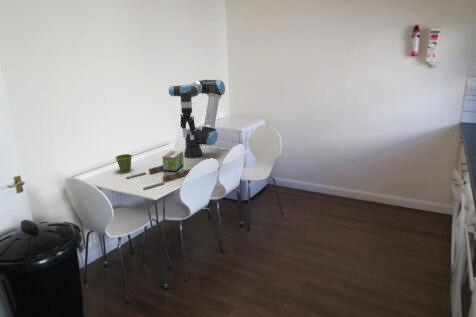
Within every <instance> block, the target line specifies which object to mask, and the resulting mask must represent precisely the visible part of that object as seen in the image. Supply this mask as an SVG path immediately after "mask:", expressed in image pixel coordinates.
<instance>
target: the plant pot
mask: <svg viewBox="0 0 476 317" xmlns="http://www.w3.org/2000/svg"><path fill="white" fill-rule="evenodd" d="M132 157H133V155H132V154H131V153H130V154H129V153H125V154H119V155H116V156H115V157H114V158H115V160H116V162H117V165H118V168H119V171H120V173H129V172H130V171H132Z"/></svg>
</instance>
